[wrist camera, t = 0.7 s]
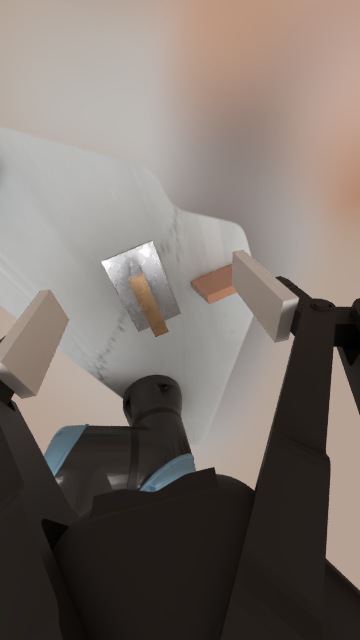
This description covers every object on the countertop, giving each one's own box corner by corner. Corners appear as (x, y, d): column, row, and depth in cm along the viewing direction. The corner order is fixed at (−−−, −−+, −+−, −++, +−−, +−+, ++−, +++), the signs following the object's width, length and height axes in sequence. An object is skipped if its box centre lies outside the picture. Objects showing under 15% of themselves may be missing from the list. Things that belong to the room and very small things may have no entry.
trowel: (179, 312, 46) (193, 335, 37) (138, 329, 46) (141, 358, 36) (151, 240, 39) (160, 246, 29) (101, 261, 38) (93, 274, 29)
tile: (234, 270, 45) (261, 282, 36) (192, 288, 44) (209, 304, 36) (233, 263, 44) (259, 273, 35) (190, 281, 44) (206, 296, 35)
